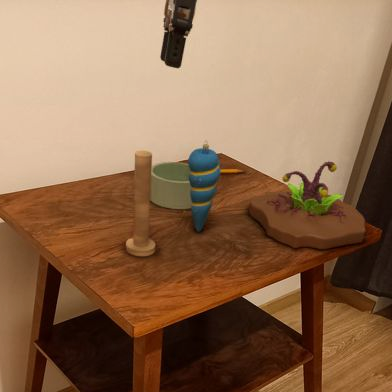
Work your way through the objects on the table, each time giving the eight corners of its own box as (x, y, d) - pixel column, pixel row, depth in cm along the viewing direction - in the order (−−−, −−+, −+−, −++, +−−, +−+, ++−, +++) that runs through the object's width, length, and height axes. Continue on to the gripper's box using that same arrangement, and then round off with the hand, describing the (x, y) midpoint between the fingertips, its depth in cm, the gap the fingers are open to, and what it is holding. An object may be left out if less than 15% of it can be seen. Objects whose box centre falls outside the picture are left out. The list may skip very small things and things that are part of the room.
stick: (121, 253, 83) (122, 155, 74) (131, 240, 87) (132, 145, 77) (150, 258, 82) (154, 161, 73) (158, 245, 86) (163, 151, 77)
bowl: (141, 203, 98) (142, 176, 95) (157, 183, 106) (158, 158, 103) (195, 213, 97) (198, 186, 94) (207, 192, 105) (210, 167, 102)
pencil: (156, 171, 110) (157, 170, 109) (243, 169, 116) (244, 168, 115) (156, 175, 110) (157, 174, 110) (243, 173, 116) (244, 172, 115)
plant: (383, 246, 93) (404, 183, 86) (280, 253, 88) (294, 186, 81) (329, 199, 108) (344, 143, 101) (238, 202, 102) (247, 142, 96)
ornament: (192, 240, 89) (201, 147, 79) (177, 227, 92) (183, 137, 83) (218, 234, 91) (230, 144, 82) (202, 222, 94) (211, 134, 85)
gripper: (161, -80, 72) (141, 54, 80) (170, -99, 60) (144, 61, 68) (215, -64, 74) (189, 67, 82) (234, -79, 62) (202, 75, 70)
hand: (169, 64), depth 75 cm, fingers open, 8 cm apart
